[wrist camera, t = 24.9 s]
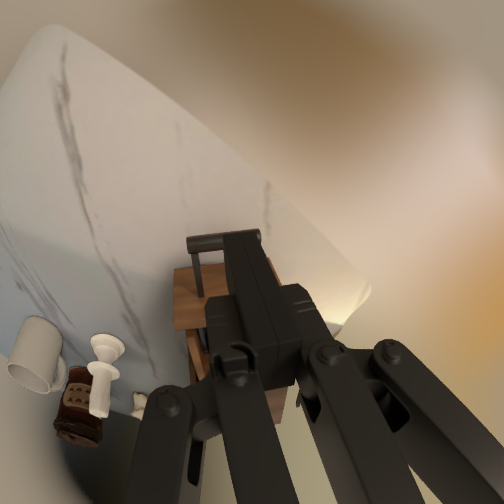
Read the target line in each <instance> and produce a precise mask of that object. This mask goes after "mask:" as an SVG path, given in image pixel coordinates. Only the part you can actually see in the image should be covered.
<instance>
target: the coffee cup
mask: <svg viewBox="0 0 504 504" xmlns="http://www.w3.org/2000/svg"><path fill="white" fill-rule="evenodd" d="M68 378H69V379H68V382H67V383H66V388H65V391H64V392H63V395H62V398H61V401H60V406H59V411H58V415H57V418H56V419H55V420H54V423H53V425H54V428H55V429H56V430H57V436H58V437H59V438H61V439H63V440H65V441H67V442H70V443H72V444H75V445H80V446H86V447H98V443H99V442H100V441H102V439H103V432H102V417H100V418H101V419H100V418H99V417H96V416H94V415H92V414H90V412H89V403H90V393H91V389H92V382H93V375H92V374H91V373H90V372H89V371H88V369H87V368H83V367H72V368H70V370H69V377H68Z"/></svg>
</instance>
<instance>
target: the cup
mask: <svg viewBox="0 0 504 504" xmlns="http://www.w3.org/2000/svg"><path fill="white" fill-rule="evenodd" d="M62 344H63V340H62V336H61V334H60V332H59V330H58V329H57V328H56V327H55V326H54V325H53V324H52V323H50V322H49V321H47V320H46V319H43V318H41V317H37V316H32V317H29V318H27V319H26V320H25V321H24V323H23V325H22V327H21V329H20V332H19V334H18V336H17V339H16V341H15V344H14V346H13V349H12V351H11V354H10V356H9V359H8V362H7V365H6V370H7V372H8V374H9V375H10V376H11V377H12V378H13V379H14V380H15V381H16V382H17V383H18V384H20V385H21V386H23V387H24V388H26V389H28V390H31V391H33V392H36V393H40V394H47V393H49V392H50V391H54V392H56V391H59V390H60V389H61V388H62V387H63V385H64V383H65V380H66V373H67V369H66V364H65V361H64V359H63V357H62V356H61V355H60V352H61V349H62ZM56 366H57V375H56V379H55V381H54V382H53V378H54V374H55V370H56Z"/></svg>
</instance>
